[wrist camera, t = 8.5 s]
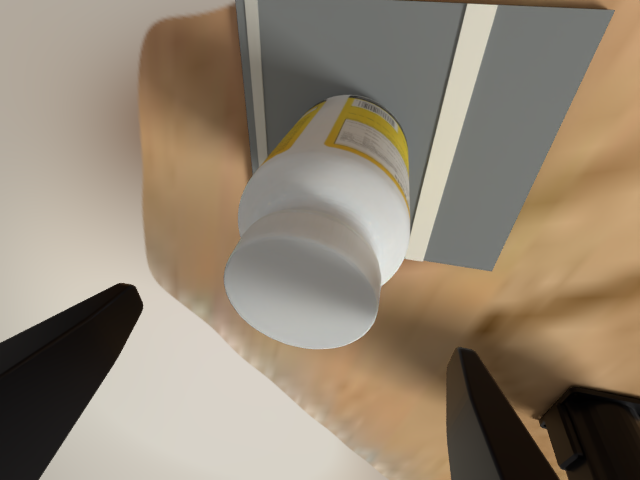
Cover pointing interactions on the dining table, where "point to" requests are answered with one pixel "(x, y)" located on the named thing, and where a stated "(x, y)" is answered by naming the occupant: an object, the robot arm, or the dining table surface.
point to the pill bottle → (323, 226)
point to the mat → (428, 97)
